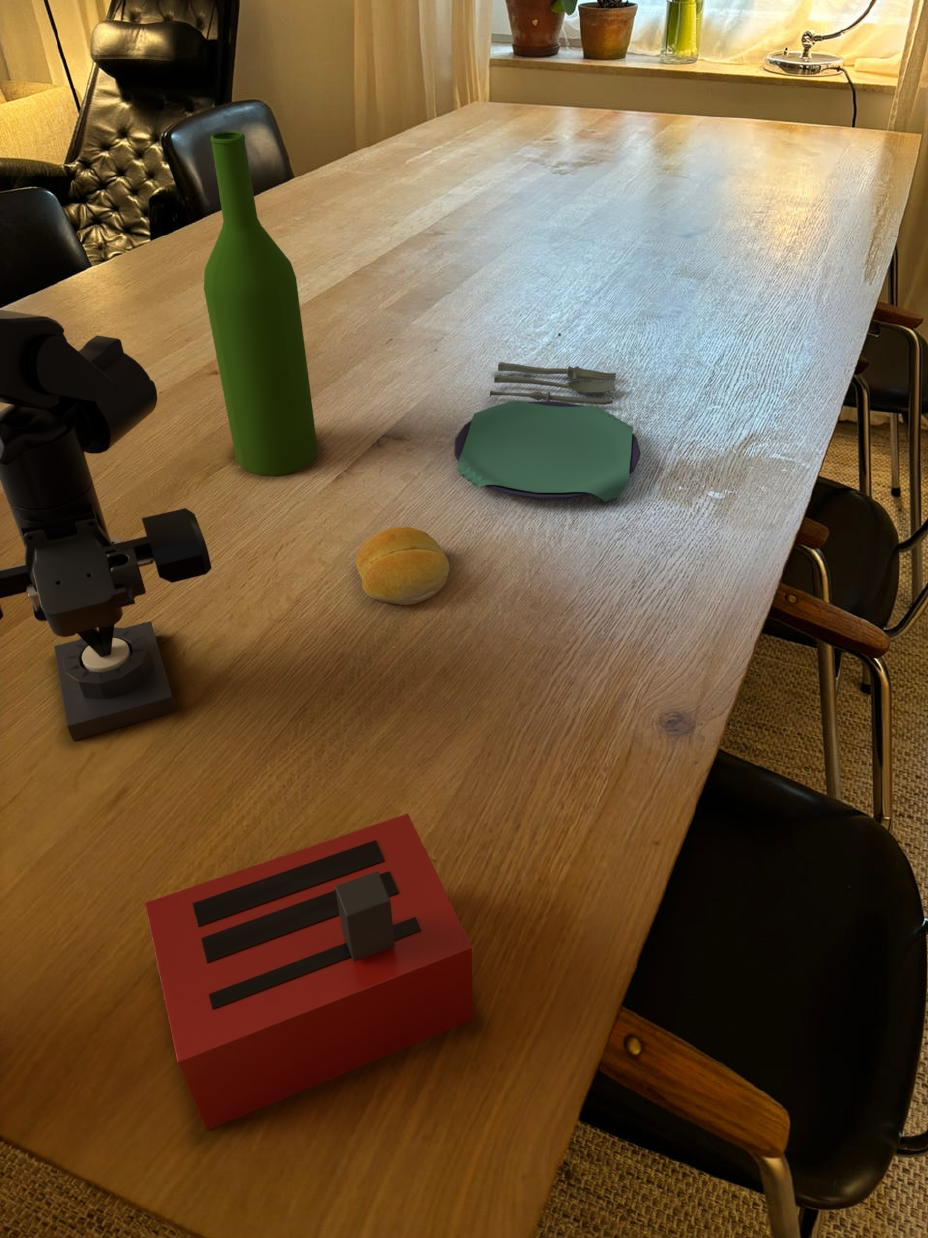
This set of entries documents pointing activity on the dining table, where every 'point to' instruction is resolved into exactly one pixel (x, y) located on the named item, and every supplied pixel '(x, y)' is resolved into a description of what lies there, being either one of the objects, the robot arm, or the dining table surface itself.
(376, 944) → the slider
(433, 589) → the bread roll
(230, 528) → the dining table surface
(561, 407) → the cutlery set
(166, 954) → the toaster
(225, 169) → the wine bottle
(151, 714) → the block
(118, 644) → the button
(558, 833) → the dining table surface
